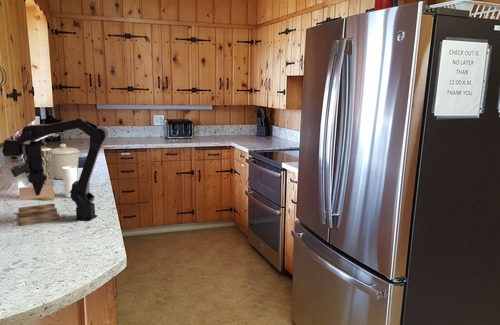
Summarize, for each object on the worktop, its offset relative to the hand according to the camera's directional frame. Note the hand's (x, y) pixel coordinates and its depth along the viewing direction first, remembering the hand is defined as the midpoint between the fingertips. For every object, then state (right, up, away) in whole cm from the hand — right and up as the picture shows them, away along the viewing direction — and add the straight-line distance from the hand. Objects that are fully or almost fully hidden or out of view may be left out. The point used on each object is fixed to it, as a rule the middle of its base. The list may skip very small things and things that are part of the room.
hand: (37, 194), depth 157 cm
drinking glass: (-4, -4, +38) cm, 39 cm away
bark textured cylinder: (-14, -5, +34) cm, 37 cm away
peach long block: (0, -1, 0) cm, 1 cm away
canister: (-26, +3, +79) cm, 83 cm away
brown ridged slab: (-3, -10, +7) cm, 12 cm away
